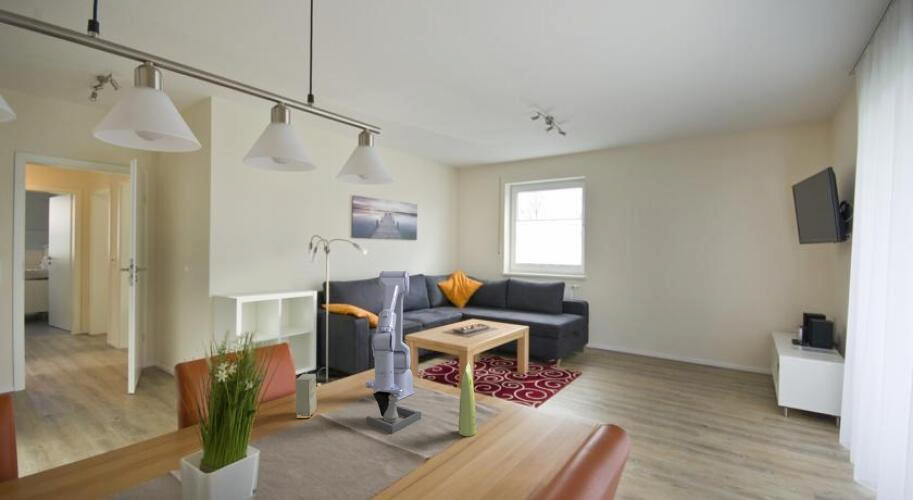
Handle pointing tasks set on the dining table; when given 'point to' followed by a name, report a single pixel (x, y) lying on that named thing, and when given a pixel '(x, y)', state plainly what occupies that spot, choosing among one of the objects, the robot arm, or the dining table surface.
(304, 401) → the skincare box
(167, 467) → the dining table surface
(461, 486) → the dining table surface
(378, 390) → the robot arm
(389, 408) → the rook chess piece
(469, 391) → the light green tall cone
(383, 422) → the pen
